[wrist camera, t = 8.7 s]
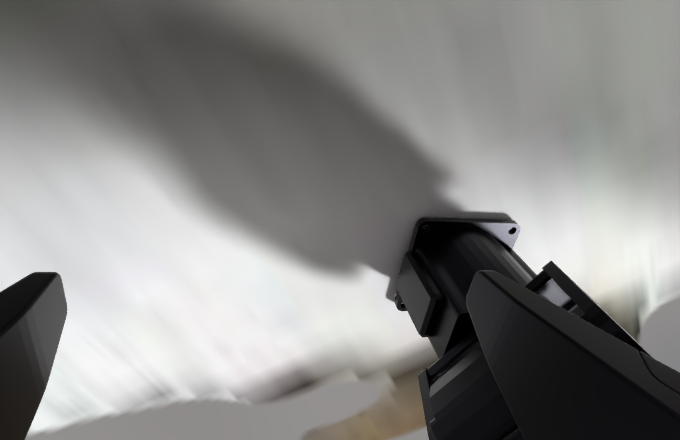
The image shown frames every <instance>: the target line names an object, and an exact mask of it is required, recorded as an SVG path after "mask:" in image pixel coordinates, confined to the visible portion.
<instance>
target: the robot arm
mask: <svg viewBox="0 0 680 440" xmlns="http://www.w3.org/2000/svg"><path fill="white" fill-rule="evenodd" d="M425 225H428V226H427V227H426V228H425V229H422V228H423V227H424V226H425ZM510 228H512V229H511V230H509V229H510ZM519 232H520V226H519V225H518V224H517V223H516V222H515V221H513V220H493V219H461V218H428V217H426V218H421V219H420V220H418V221H417V223H416V225H415V229H414V232H413V236H412V240H411V243H410V247H409V251H408V252H407V253H406V254H405V256H404V260H403V263H402V267H401V271H400V274H399V278H398V282H397V286H396V288H397V290H398V291H397V295H396V298H395V305H396V307H397V309H398V310H400V311H408V313H409V315H410V317H411V319H412V321H413V323H414V325H415V327H416V329H417V331H418V333H419V334H420V335H421V336H422V337H428V338H429V340H430V342H431V344H432V346H433V348H434V350H435V352H436V354H437V356H438V358H439V360H437V361H436V362H435V363H434V364H433V365H432V366H430V367H429V368H428V369H427V368H425V369H424V370H423V371H422V372H420V373H419V374H418V379H419V385H420V391H421V397H422V402H423V408H424V414H425V420H426V425H427V431H428V436H429V440H680V373H679V372H677V371H676V370H674V369H671V368H670V367H668V366H666V365H664V364H662V363H661V362H659V361H657V360H656V359H654V358H653V357H652V356H651V355H650V354H649V353H648V352H647V351H646V350H645V349H644V348H643V347H642V346H641V345H640V344H639V343H638V342H637V341H636V340H635V339H634V338H633V337H632V336H631V335H630V334H629V333H628V332H627V331H626V330H625V329H623V328H622V327H621V326H620V325H619V324H618V323H617V322H616V321H615V320H614V319H613V318H612V317H611V316H610V315H609V314H608V313H607V312H606V311H605V310H603V309H602V308H601V307H600V306H599V305H598V304H597V303H596V302H595V301H594V300H593V299H592V298H591V297H590V296H589V295H588V294H586V293H585V292H584V291H583V290H582V289H581V288H580V287H579V286H578V285H577V284H576V283H575V282H574V281H573V280H571V279H570V278H569V277H568V276H567V275H566V274H565V273H564V272H563V271H562V270H561V269H560V268H559V267H558V266H556V265H555V264H554V263H553V262H552V261H550V262H549V263H548V264H547V265H545V266H544V267H543V268H542V269H543V271H542V272H540V273H539V274H538V275H536V274H535V273H534V272H533V271H532V270H531V268H530V267H529V266H528V265H527V264H526V263H525V262H524V261H523V260H522V259H521V258H520V257H519V256H518V255H517V254H516V253H515V252H514V251H513V250H512V249H513V246H514V244H515V241H516V239H517V236H518V234H519ZM401 303H402V304H401ZM66 315H67V303H66V298H65V293H64V288H63V284H62V279H61V277H60V275H59V274H58V273H56V272H34V273H32V274H30V275H28V276H26V277H25V278H23V279H21V280H20V281H18V282H16V283H15V284H13V285H11V286H10V287H8V288H6V289H5V290H3V291H1V292H0V440H25V438H26V435H27V433H28V430H29V428H30V426H31V423H32V421H33V419H34V416H35V414H36V411H37V409H38V407H39V404H40V402H41V399H42V397H43V394H44V392H45V389H46V386H47V383H48V380H49V376H50V373H51V369H52V366H53V362H54V359H55V355H56V352H57V348H58V344H59V341H60V337H61V334H62V330H63V327H64V323H65V320H66Z"/></svg>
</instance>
